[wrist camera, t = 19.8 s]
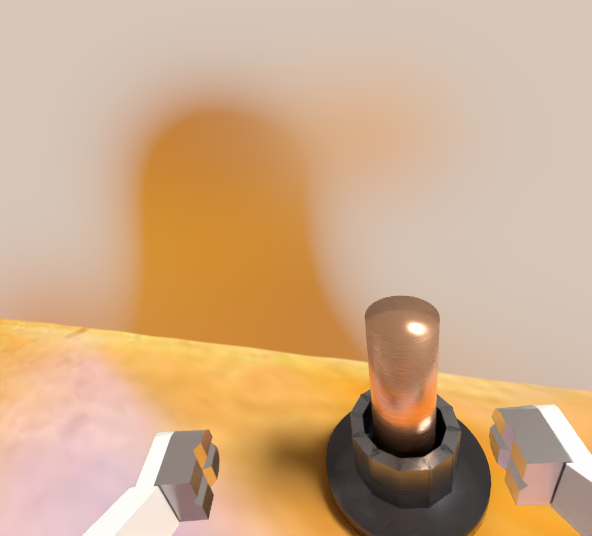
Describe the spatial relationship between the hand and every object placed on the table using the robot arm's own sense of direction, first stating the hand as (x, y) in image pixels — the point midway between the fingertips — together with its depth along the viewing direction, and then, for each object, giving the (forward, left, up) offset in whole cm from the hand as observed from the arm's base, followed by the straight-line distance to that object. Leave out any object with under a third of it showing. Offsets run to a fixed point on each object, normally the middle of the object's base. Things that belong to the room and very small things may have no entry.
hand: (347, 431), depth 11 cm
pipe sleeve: (+4, +14, -25) cm, 29 cm away
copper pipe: (+4, +14, -23) cm, 27 cm away
